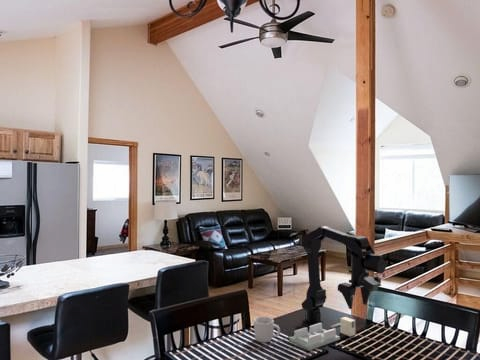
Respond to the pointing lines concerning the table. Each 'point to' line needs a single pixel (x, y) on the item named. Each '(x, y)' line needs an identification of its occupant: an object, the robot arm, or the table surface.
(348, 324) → the plug
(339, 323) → the lead
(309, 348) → the board
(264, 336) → the cup
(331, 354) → the table surface
